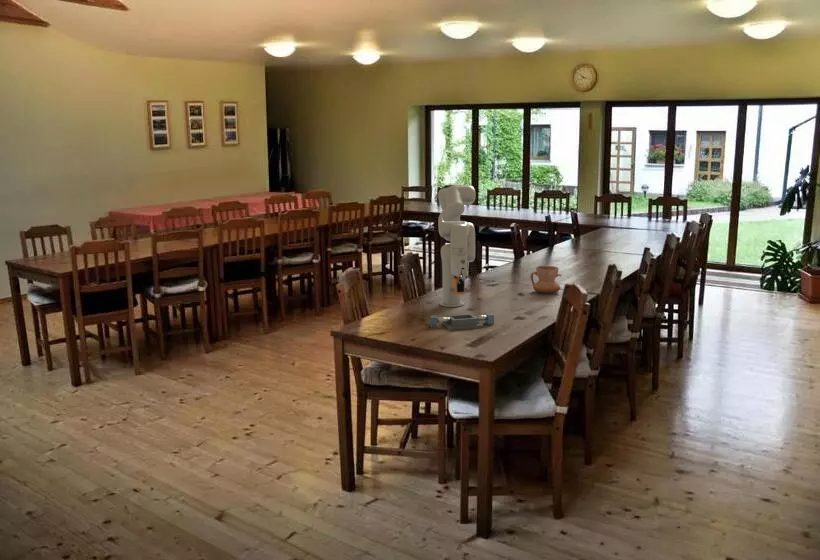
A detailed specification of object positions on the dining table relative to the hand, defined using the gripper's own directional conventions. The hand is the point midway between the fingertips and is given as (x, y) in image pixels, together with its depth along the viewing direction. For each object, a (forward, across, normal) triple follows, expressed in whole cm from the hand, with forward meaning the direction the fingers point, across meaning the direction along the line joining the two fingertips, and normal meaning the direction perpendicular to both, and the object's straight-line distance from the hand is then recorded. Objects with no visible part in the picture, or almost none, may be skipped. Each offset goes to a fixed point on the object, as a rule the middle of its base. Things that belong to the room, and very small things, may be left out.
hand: (458, 290), depth 324 cm
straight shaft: (+17, -1, -12) cm, 21 cm away
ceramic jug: (+18, +47, -71) cm, 87 cm away
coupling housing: (+17, 0, -2) cm, 17 cm away
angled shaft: (+17, +2, +7) cm, 19 cm away
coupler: (+1, 0, 0) cm, 1 cm away
